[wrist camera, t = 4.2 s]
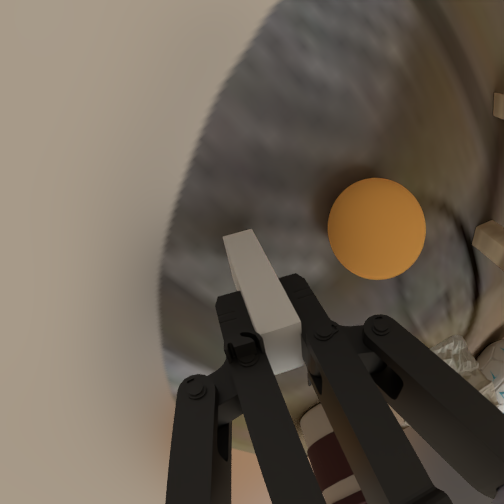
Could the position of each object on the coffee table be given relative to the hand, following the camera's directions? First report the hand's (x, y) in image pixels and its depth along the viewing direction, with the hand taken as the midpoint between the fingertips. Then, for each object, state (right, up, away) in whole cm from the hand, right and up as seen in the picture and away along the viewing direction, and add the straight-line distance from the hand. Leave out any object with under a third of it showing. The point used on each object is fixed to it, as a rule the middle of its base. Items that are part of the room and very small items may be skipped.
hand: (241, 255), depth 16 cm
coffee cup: (+10, -19, +18) cm, 28 cm away
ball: (+7, +1, 0) cm, 7 cm away
